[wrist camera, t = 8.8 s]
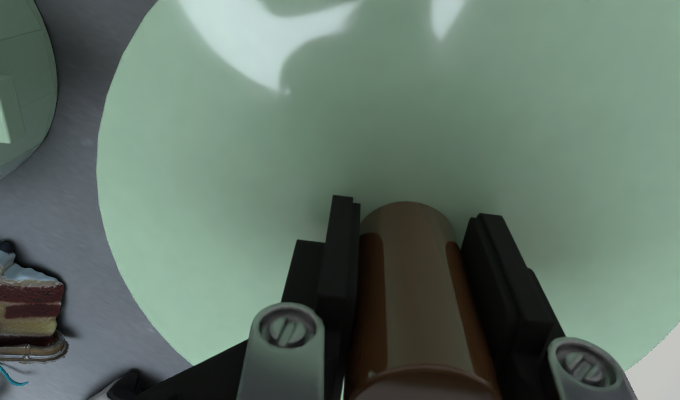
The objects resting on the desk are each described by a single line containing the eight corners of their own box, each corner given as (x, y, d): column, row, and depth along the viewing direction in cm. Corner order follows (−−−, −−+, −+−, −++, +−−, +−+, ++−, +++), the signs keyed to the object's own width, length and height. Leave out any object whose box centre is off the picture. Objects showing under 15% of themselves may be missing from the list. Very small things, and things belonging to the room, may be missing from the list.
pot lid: (68, -170, 10) (-383, -341, 4) (874, -71, 10) (1621, -94, 4) (144, 384, 18) (33, 596, 12) (584, 438, 18) (687, 677, 12)
